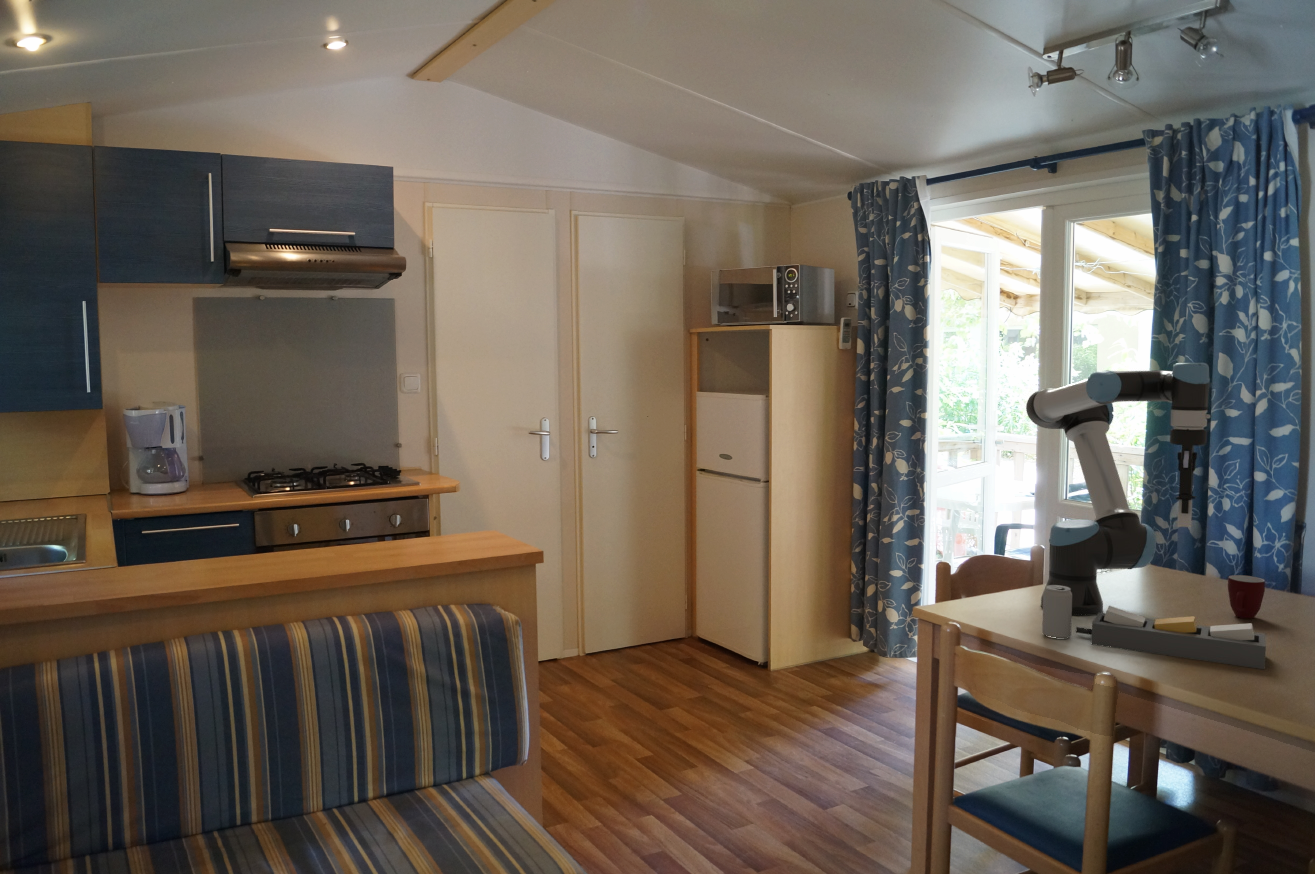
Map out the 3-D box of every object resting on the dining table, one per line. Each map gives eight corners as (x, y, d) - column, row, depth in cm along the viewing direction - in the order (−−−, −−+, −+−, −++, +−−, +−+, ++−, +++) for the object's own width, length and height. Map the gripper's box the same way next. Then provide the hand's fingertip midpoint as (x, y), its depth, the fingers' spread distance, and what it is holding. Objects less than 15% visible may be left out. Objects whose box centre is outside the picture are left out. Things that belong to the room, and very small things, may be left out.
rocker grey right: (1212, 642, 208) (1209, 631, 208) (1213, 636, 212) (1210, 625, 212) (1254, 639, 204) (1251, 628, 204) (1254, 633, 208) (1251, 623, 208)
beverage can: (1058, 641, 221) (1060, 591, 220) (1036, 634, 226) (1037, 586, 225) (1076, 638, 224) (1078, 588, 223) (1054, 631, 229) (1055, 583, 228)
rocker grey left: (1103, 619, 220) (1106, 610, 219) (1106, 614, 224) (1109, 605, 223) (1140, 632, 216) (1143, 622, 215) (1142, 627, 220) (1145, 617, 219)
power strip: (1072, 641, 221) (1073, 620, 220) (1079, 630, 230) (1080, 610, 230) (1264, 669, 200) (1265, 646, 200) (1264, 655, 210) (1265, 633, 209)
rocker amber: (1156, 634, 214) (1154, 624, 214) (1158, 629, 218) (1155, 619, 218) (1195, 632, 210) (1193, 621, 210) (1197, 626, 214) (1194, 616, 214)
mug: (1260, 625, 233) (1262, 585, 233) (1222, 619, 238) (1224, 581, 238) (1264, 616, 242) (1266, 578, 241) (1228, 611, 247) (1230, 573, 246)
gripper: (1205, 430, 214) (1201, 532, 216) (1208, 426, 225) (1203, 523, 227) (1168, 429, 218) (1164, 529, 220) (1172, 425, 229) (1168, 521, 231)
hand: (1184, 526), depth 224 cm, fingers closed
